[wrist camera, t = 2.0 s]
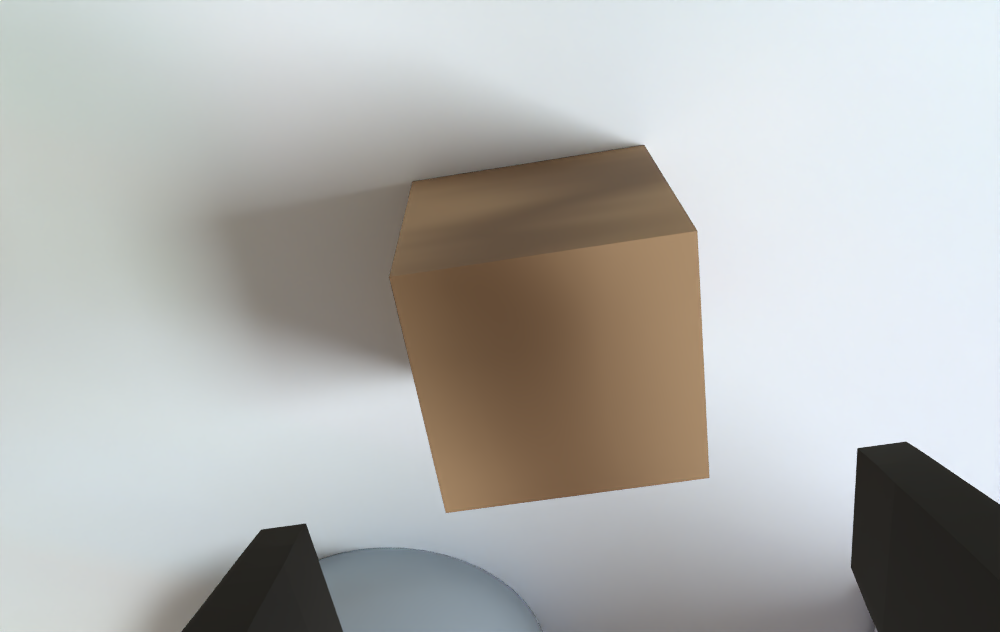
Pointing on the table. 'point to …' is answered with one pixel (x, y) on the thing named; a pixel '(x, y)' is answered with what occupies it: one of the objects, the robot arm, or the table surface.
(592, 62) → the table surface
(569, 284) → the cube
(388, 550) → the platform
